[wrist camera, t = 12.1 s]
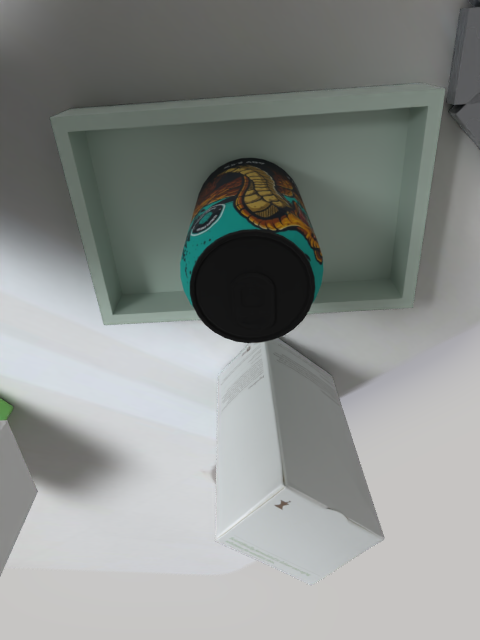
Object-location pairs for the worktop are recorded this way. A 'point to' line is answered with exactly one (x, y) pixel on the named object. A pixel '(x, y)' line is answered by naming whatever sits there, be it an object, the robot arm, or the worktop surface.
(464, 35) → the socket collar
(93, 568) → the worktop surface
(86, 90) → the worktop surface
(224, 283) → the beverage can
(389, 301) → the tray bin
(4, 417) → the ink box
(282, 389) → the skincare box
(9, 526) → the robot arm
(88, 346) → the worktop surface
